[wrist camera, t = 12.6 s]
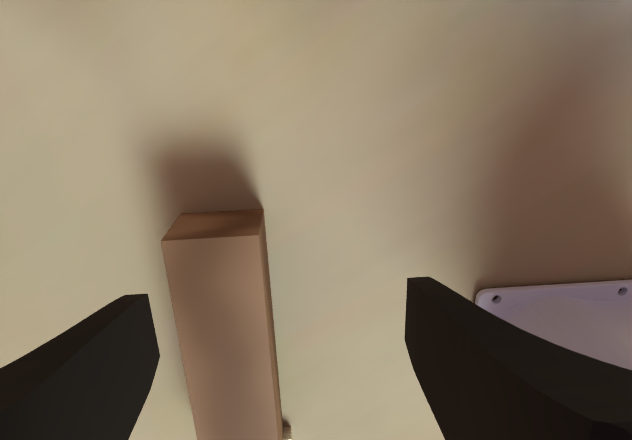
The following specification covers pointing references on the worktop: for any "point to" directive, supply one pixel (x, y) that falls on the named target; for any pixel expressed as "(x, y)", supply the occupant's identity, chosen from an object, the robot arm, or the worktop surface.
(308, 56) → the worktop surface
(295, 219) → the worktop surface
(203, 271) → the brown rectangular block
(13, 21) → the worktop surface
